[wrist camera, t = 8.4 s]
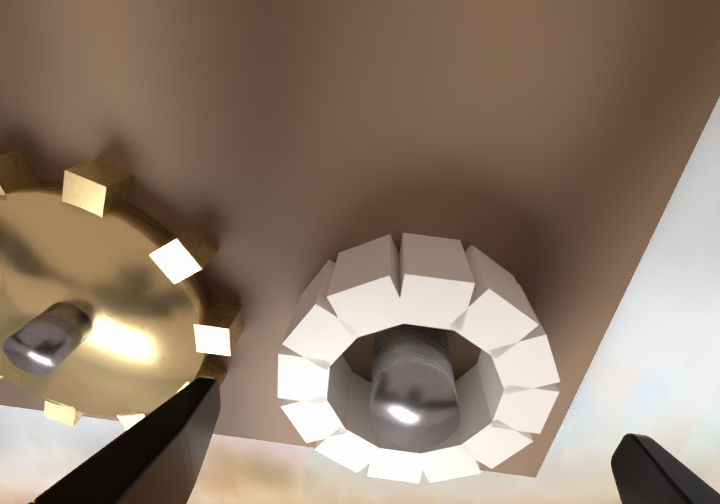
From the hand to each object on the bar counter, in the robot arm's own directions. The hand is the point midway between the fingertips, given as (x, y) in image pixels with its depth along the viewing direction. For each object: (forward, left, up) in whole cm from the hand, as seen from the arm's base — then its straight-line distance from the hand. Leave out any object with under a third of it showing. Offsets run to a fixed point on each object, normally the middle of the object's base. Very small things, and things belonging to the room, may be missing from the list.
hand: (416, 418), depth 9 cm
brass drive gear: (-9, 0, -3) cm, 9 cm away
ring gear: (0, 0, -3) cm, 3 cm away
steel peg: (0, 0, -3) cm, 3 cm away
